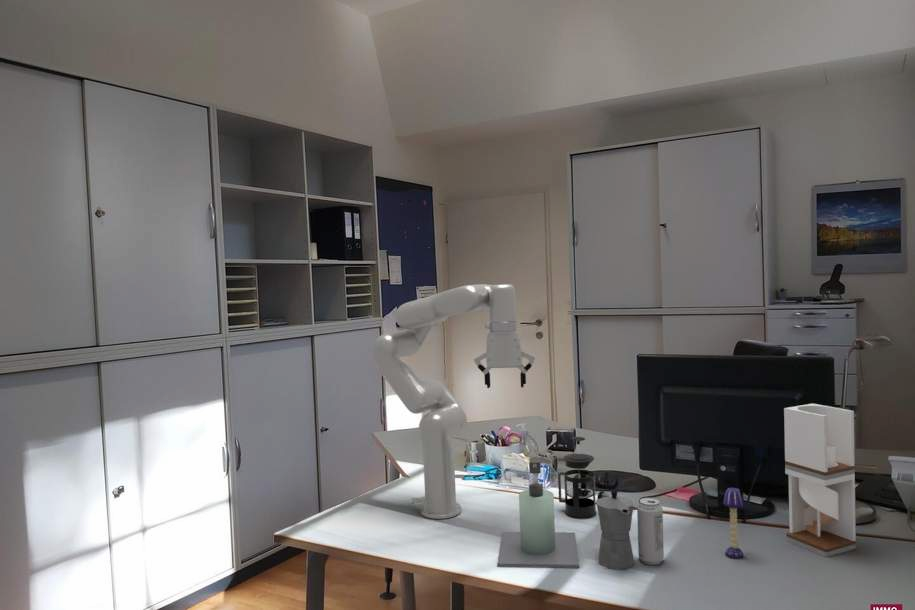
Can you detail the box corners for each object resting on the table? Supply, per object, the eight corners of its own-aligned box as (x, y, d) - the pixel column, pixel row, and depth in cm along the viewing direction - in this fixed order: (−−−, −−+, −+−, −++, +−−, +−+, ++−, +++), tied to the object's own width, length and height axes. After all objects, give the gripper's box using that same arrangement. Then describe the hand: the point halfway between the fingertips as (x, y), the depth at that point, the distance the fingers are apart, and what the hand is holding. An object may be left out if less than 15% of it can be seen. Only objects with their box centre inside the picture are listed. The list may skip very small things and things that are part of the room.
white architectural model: (786, 540, 171) (784, 408, 169) (815, 532, 175) (812, 403, 173) (826, 557, 160) (824, 416, 159) (855, 548, 165) (853, 410, 163)
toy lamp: (721, 551, 166) (720, 486, 165) (740, 550, 166) (738, 485, 165) (729, 559, 161) (727, 492, 161) (748, 558, 161) (746, 492, 161)
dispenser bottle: (497, 566, 163) (494, 498, 162) (502, 534, 182) (500, 473, 182) (578, 568, 160) (576, 498, 159) (574, 535, 180) (572, 473, 179)
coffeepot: (646, 570, 157) (644, 496, 156) (610, 576, 155) (608, 501, 154) (617, 545, 172) (615, 478, 171) (584, 550, 170) (581, 482, 169)
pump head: (529, 490, 165) (529, 466, 165) (530, 479, 173) (529, 457, 173) (541, 490, 164) (540, 466, 164) (541, 479, 173) (540, 457, 172)
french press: (602, 509, 198) (599, 435, 197) (594, 521, 190) (592, 442, 189) (564, 505, 203) (561, 432, 202) (555, 516, 195) (552, 439, 194)
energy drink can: (644, 553, 167) (643, 495, 166) (667, 559, 163) (666, 499, 162) (634, 561, 162) (632, 502, 161) (658, 567, 158) (656, 507, 158)
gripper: (471, 329, 184) (474, 389, 185) (533, 327, 182) (535, 388, 182) (474, 327, 191) (476, 385, 192) (533, 325, 189) (536, 384, 190)
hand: (505, 387), depth 187 cm, fingers open, 9 cm apart
